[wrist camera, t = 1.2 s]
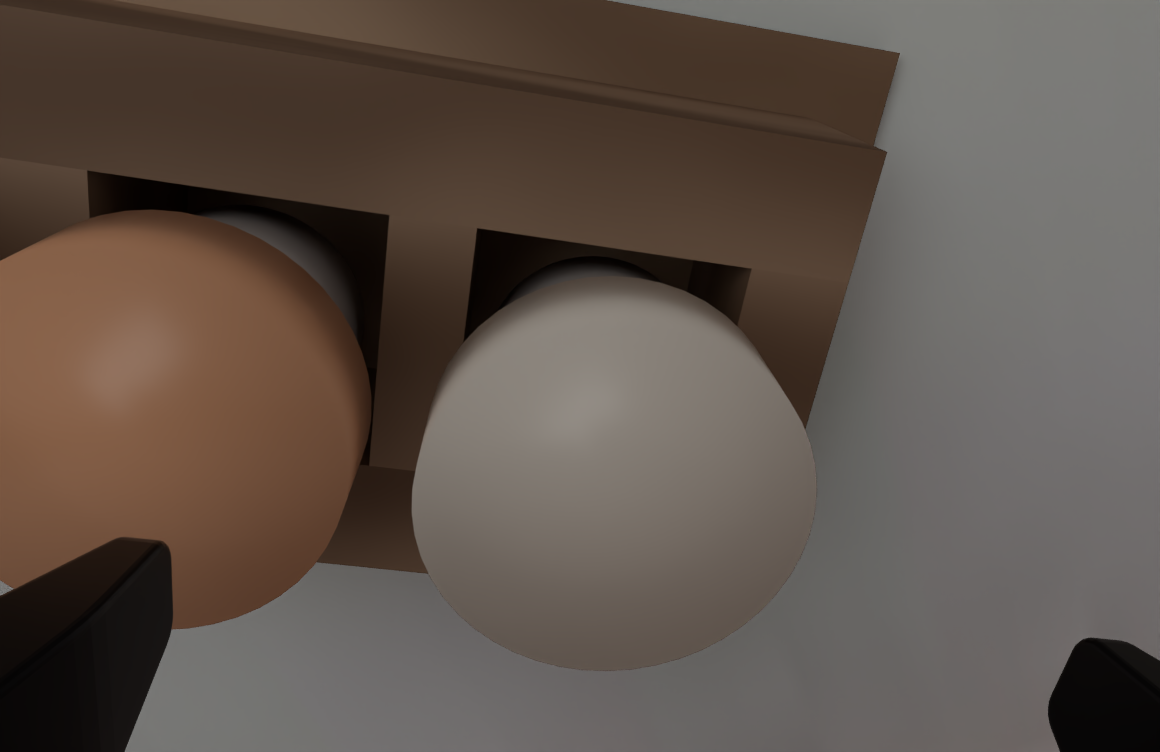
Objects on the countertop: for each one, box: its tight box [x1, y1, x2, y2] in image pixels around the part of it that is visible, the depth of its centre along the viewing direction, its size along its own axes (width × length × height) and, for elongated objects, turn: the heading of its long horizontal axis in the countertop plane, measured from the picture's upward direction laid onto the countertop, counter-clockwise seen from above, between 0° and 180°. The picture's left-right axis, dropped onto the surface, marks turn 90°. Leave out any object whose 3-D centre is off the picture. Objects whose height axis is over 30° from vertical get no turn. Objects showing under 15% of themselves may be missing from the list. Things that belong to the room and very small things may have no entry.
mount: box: [0, 0, 900, 574], centre depth 17 cm, size 12×23×5 cm, turn 81°
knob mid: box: [0, 204, 371, 629], centre depth 13 cm, size 5×5×5 cm
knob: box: [412, 256, 817, 671], centre depth 14 cm, size 5×5×5 cm
